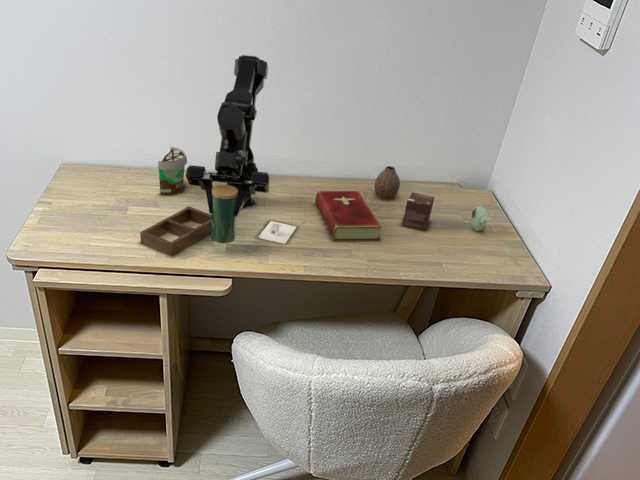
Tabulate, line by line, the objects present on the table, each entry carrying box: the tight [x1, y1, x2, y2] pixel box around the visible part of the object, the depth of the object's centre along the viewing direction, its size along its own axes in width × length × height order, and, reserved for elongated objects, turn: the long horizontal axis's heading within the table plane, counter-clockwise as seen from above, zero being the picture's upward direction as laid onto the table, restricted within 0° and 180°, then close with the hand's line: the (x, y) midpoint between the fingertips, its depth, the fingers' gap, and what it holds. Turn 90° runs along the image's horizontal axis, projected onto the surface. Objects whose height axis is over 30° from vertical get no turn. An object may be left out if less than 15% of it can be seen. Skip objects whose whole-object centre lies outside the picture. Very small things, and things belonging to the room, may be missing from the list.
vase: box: [373, 165, 401, 201], centre depth 172 cm, size 7×7×9 cm
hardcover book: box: [315, 190, 383, 242], centre depth 159 cm, size 12×21×4 cm, turn 6°
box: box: [402, 192, 435, 231], centre depth 159 cm, size 6×6×7 cm
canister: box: [210, 184, 238, 244], centre depth 140 cm, size 6×6×12 cm
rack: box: [139, 206, 212, 257], centre depth 149 cm, size 18×10×3 cm, turn 145°
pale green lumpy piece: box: [470, 205, 491, 232], centre depth 158 cm, size 8×4×7 cm, turn 175°
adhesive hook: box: [268, 221, 282, 236], centre depth 152 cm, size 3×3×3 cm
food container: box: [157, 146, 188, 196], centre depth 169 cm, size 12×6×10 cm, turn 168°
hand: (223, 214), depth 138 cm, fingers closed on canister, 5 cm apart
